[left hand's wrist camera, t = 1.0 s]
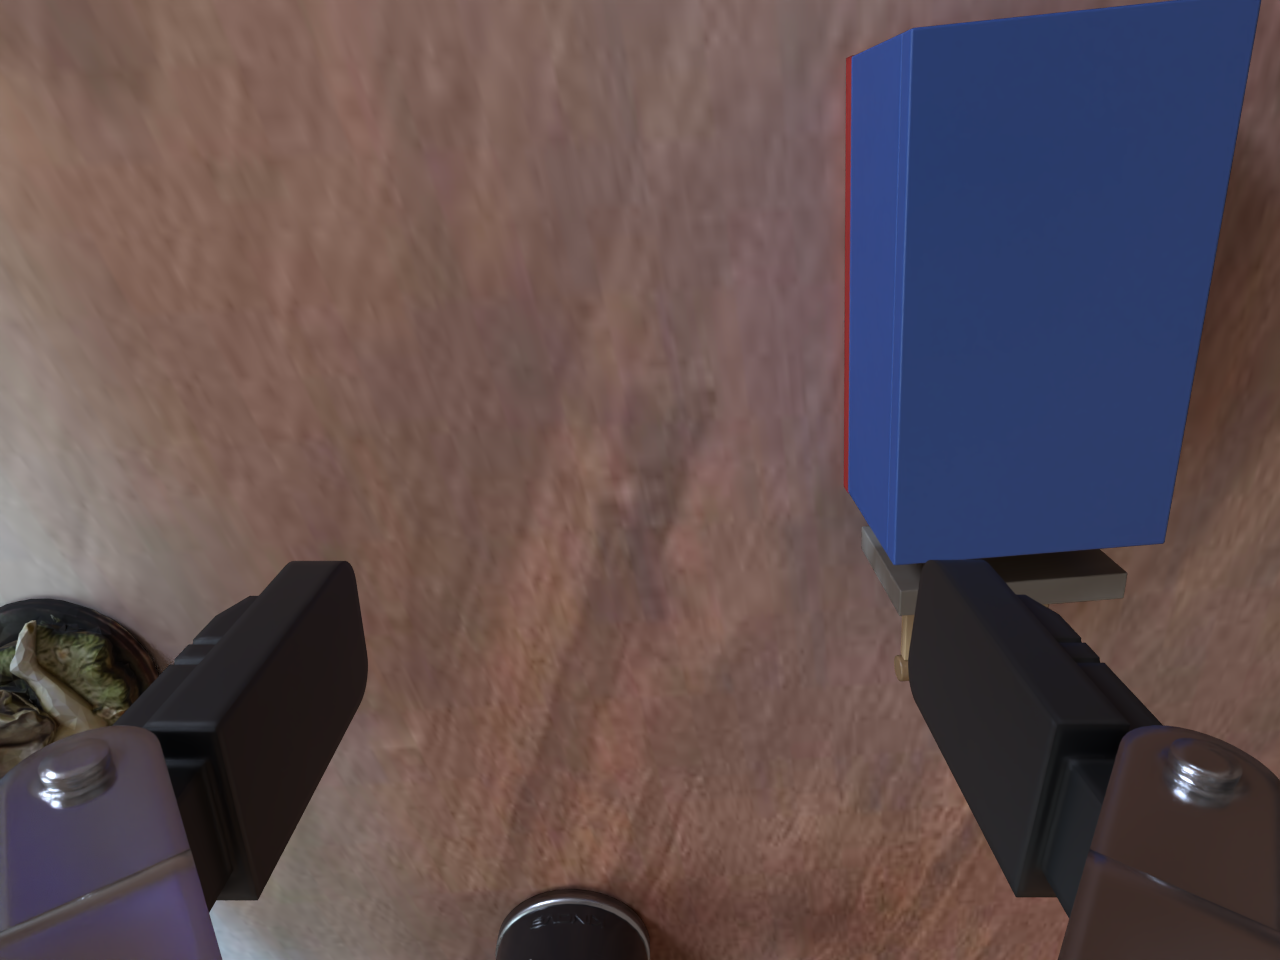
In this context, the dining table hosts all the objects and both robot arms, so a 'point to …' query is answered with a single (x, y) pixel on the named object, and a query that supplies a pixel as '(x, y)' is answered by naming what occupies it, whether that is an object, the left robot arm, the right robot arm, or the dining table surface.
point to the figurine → (63, 674)
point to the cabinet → (1032, 271)
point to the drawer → (1024, 574)
